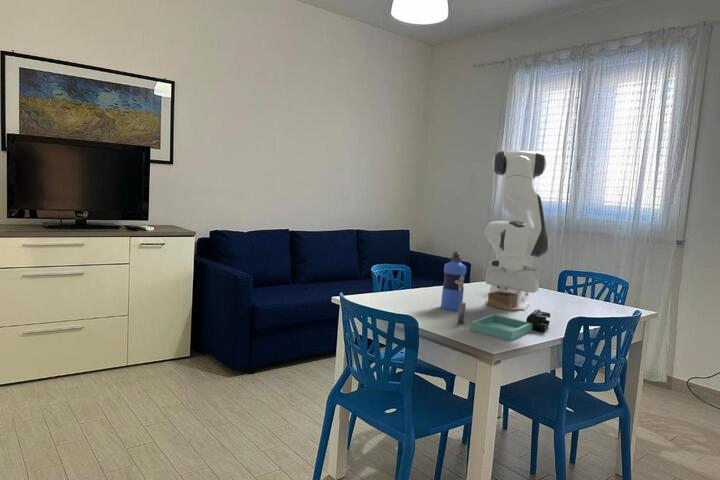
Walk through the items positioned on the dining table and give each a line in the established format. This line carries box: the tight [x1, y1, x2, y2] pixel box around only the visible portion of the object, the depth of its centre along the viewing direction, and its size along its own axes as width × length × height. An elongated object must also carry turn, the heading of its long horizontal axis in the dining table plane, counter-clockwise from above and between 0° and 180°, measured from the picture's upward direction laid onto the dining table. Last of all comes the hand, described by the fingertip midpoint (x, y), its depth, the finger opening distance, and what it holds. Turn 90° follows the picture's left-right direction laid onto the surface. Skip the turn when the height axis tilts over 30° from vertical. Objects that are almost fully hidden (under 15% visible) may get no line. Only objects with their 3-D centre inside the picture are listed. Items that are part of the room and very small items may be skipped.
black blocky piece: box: [525, 308, 551, 333], centre depth 204 cm, size 10×7×7 cm
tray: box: [469, 313, 533, 341], centre depth 197 cm, size 20×16×3 cm
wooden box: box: [486, 291, 518, 311], centre depth 196 cm, size 13×8×4 cm, turn 141°
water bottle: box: [440, 251, 467, 312], centre depth 227 cm, size 9×9×25 cm
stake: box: [457, 302, 466, 325], centre depth 203 cm, size 2×2×8 cm
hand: (509, 299), depth 200 cm, fingers closed on wooden box, 3 cm apart
